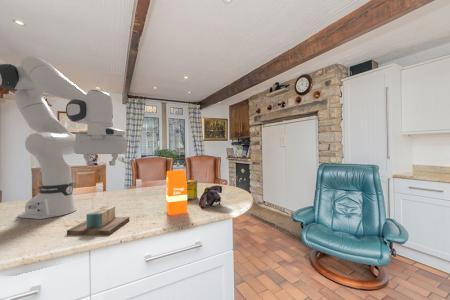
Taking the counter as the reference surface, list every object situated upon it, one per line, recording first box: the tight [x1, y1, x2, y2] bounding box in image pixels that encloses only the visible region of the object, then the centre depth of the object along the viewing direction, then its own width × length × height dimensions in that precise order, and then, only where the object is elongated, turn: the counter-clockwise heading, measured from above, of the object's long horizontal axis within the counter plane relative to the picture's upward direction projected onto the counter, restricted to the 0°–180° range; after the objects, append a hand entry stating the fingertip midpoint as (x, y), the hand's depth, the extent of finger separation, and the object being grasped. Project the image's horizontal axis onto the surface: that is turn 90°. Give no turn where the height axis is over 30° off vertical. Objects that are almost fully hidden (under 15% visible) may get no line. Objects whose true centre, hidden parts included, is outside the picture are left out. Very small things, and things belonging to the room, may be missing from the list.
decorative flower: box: [198, 185, 223, 210], centre depth 109 cm, size 15×12×15 cm
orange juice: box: [165, 169, 188, 216], centre depth 100 cm, size 8×9×20 cm
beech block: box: [85, 206, 116, 228], centre depth 82 cm, size 5×5×10 cm
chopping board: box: [66, 216, 130, 236], centre depth 81 cm, size 16×14×2 cm
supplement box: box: [186, 179, 198, 201], centre depth 124 cm, size 6×6×11 cm
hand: (101, 165), depth 83 cm, fingers open, 8 cm apart
